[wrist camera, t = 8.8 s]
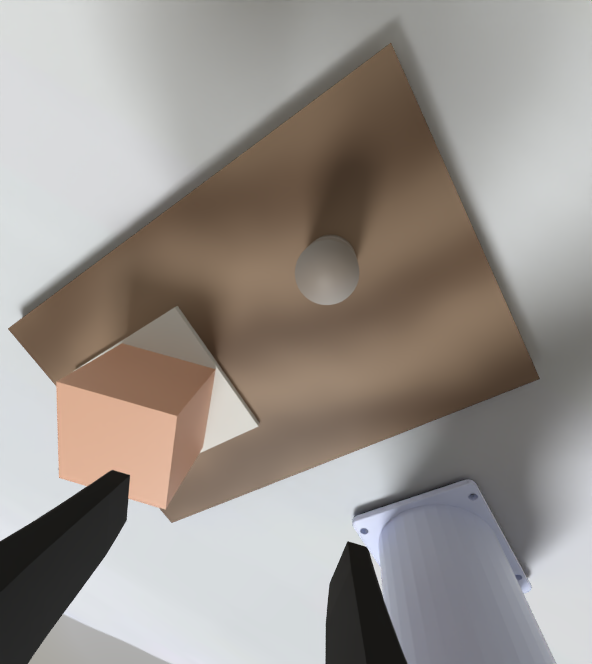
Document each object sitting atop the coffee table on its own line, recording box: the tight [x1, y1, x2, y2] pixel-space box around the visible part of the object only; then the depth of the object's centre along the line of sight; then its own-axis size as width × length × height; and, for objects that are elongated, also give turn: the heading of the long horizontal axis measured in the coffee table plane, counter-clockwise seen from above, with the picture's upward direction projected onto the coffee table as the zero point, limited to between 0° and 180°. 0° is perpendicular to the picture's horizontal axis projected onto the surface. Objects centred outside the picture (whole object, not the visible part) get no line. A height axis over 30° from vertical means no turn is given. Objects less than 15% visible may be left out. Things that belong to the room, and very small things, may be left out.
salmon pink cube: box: [56, 343, 216, 510], centre depth 17 cm, size 5×5×4 cm
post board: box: [8, 43, 540, 523], centre depth 17 cm, size 16×24×4 cm, turn 121°
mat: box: [73, 306, 260, 453], centre depth 19 cm, size 8×8×1 cm
